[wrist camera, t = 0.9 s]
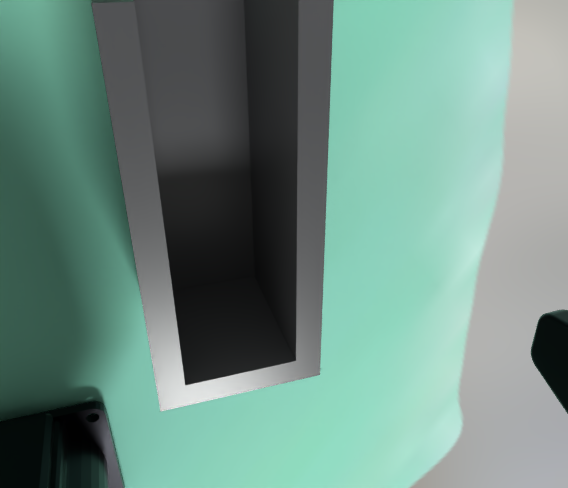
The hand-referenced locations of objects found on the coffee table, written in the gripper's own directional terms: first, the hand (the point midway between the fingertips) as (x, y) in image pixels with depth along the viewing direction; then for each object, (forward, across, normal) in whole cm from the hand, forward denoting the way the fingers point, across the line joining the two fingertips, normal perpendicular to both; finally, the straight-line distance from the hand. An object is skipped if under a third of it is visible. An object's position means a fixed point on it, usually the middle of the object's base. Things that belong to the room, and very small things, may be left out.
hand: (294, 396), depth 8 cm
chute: (+12, 0, 0) cm, 12 cm away
